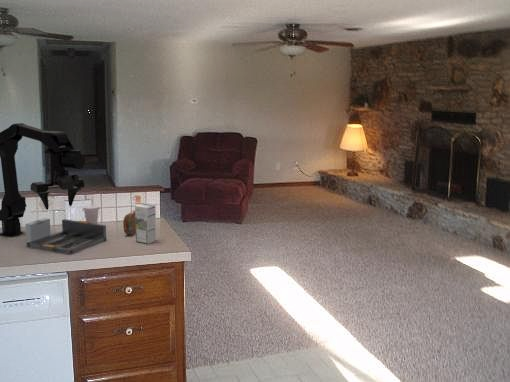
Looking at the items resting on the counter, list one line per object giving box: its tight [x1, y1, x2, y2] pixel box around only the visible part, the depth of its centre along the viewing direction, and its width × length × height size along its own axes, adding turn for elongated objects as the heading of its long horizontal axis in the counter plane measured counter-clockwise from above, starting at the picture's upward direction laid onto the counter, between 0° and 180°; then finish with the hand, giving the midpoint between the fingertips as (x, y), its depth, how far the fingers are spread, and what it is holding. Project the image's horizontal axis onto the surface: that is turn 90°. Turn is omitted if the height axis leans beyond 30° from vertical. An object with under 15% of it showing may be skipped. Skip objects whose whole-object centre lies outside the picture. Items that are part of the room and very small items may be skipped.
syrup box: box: [134, 202, 157, 245], centre depth 209 cm, size 6×6×14 cm
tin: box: [122, 209, 136, 236], centre depth 222 cm, size 15×3×8 cm, turn 168°
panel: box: [25, 217, 52, 243], centre depth 210 cm, size 2×10×7 cm, turn 157°
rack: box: [26, 218, 107, 256], centre depth 204 cm, size 20×20×6 cm
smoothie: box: [82, 195, 100, 224], centre depth 224 cm, size 6×6×14 cm
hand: (58, 207), depth 204 cm, fingers open, 9 cm apart
